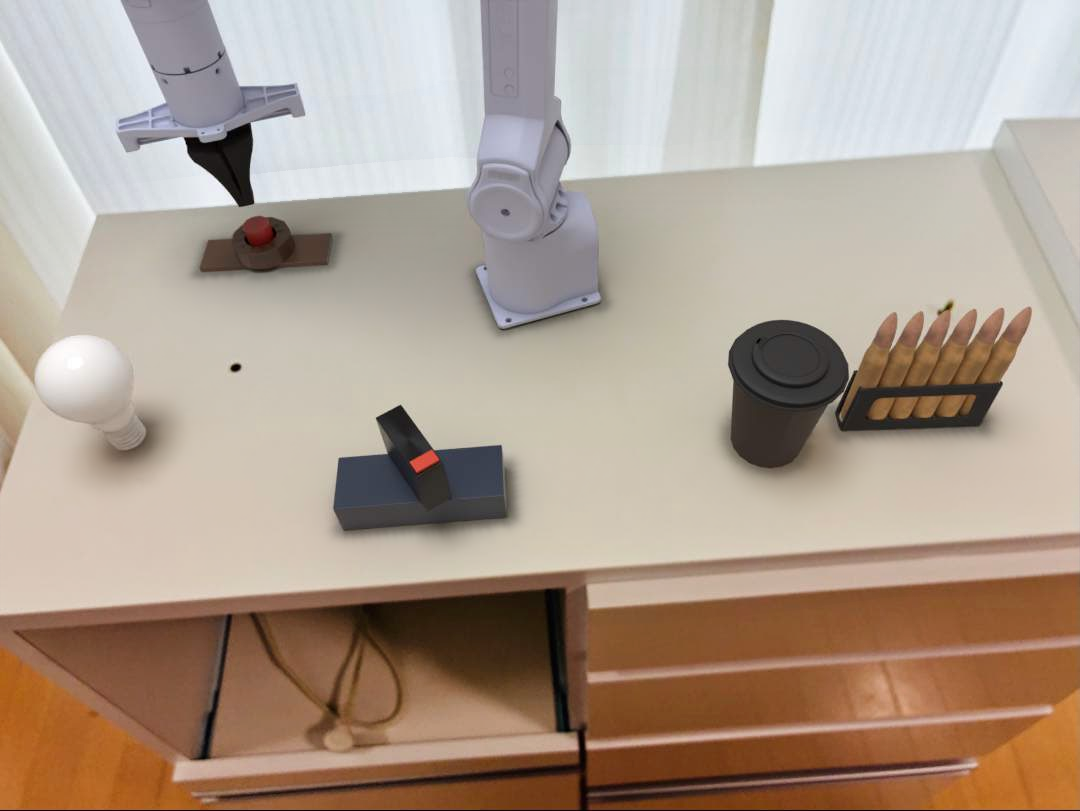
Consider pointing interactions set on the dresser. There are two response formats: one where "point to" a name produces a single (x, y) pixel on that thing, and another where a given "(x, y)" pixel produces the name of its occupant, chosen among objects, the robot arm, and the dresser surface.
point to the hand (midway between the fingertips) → (246, 199)
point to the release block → (267, 250)
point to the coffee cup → (781, 388)
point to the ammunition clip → (930, 373)
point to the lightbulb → (91, 387)
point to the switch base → (387, 500)
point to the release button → (258, 231)
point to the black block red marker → (414, 457)
